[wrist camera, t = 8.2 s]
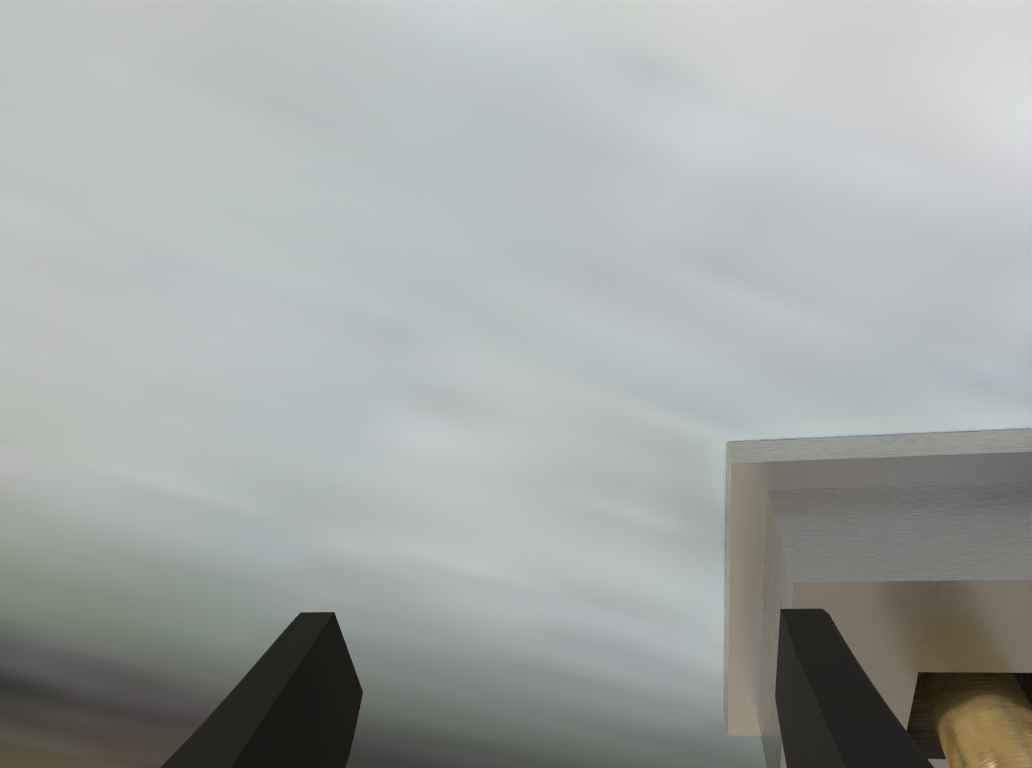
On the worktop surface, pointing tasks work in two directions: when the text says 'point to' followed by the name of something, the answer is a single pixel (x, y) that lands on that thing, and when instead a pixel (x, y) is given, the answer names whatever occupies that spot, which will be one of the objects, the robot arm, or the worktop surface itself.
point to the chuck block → (879, 564)
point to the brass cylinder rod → (979, 718)
